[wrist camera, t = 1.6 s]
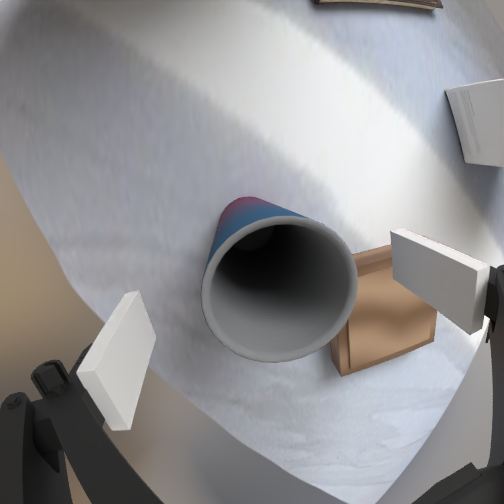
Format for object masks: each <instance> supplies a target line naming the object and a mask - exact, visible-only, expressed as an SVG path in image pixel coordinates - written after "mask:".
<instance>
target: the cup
mask: <svg viewBox="0 0 504 504" xmlns="http://www.w3.org/2000/svg"><path fill="white" fill-rule="evenodd" d="M357 290H358V276H357V268H356V265H355V262H354V258H353V255H352V254H351V252H350V250H349V249H348V247H347V245H346V243H345V242H344V241H343V240H342V239H341V238H340V237H339V236H338V235H337V234H336V233H335V232H334V231H332V230H331V229H330V228H328V227H327V226H325V225H324V224H322V223H319V222H317V221H314V220H312V219H309V218H307V217H304V216H302V215H299V214H297V213H294V212H292V211H289V210H287V209H284V208H282V207H279V206H277V205H274V204H272V203H269V202H266V201H264V200H261V199H258V198H255V197H242V198H239V199H236V200H234V201H233V202H231V203H230V204H229V205H228V206H227V207H226V208H225V210H224V211H223V213H222V215H221V218H220V221H219V225H218V228H217V231H216V235H215V238H214V241H213V245H212V248H211V252H210V255H209V258H208V262H207V265H206V269H205V272H204V276H203V279H202V287H201V304H202V311H203V314H204V317H205V320H206V323H207V324H208V326H209V328H210V329H211V331H212V333H213V334H214V336H215V337H216V338H217V339H218V340H219V341H220V342H221V343H222V344H223V345H224V346H225V347H227V348H228V349H230V350H231V351H232V352H234V353H236V354H238V355H240V356H242V357H245V358H247V359H251V360H255V361H259V362H271V363H277V362H286V361H291V360H295V359H299V358H302V357H305V356H307V355H309V354H311V353H313V352H315V351H317V350H318V349H320V348H321V347H323V346H324V345H326V344H327V343H328V342H329V341H331V340H332V339H333V338H334V337H335V336H336V335H337V334H338V333H339V331H340V330H341V329H342V327H343V326H344V325H345V324H346V322H347V320H348V318H349V316H350V314H351V312H352V310H353V307H354V304H355V301H356V298H357Z"/></svg>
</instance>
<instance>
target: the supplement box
mask: <svg viewBox="0 0 504 504" xmlns="http://www.w3.org/2000/svg"><path fill="white" fill-rule="evenodd" d="M445 91H446V94H447V97H448V100H449V103H450V106H451V109H452V113H453V116H454V120H455V123H456V127H457V131H458V135H459V138H460V142H461V146H462V151H463V155H464V160H465V163H471V164H480V165H489V166H497V167H504V79H498V80H491V81H485V82H479V83H473V84H468V85H463V86H458V87H453V88H448V89H446V90H445Z"/></svg>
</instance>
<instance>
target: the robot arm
mask: <svg viewBox="0 0 504 504" xmlns="http://www.w3.org/2000/svg"><path fill="white" fill-rule="evenodd" d="M390 234H391V247H392V265H393V279H394V280H395V281H397V282H398V283H400V284H401V285H402V286H404V287H405V288H407V289H408V290H410V291H411V292H412V293H414V294H415V295H417V296H418V297H419V298H421V299H422V300H423V301H425V302H426V303H428V304H429V305H430V306H432V307H433V308H434V309H436V310H437V311H438V312H440V313H441V314H443V315H444V316H445V317H447V318H448V319H449V320H451V321H452V322H453V323H455V324H456V325H457V326H458V327H460V328H461V329H462V330H464V331H465V332H466V333H468V334H469V335H471V334H473V333H475V332H477V331H478V330H480V329H482V326H483V320H484V315H485V316H487V317H488V318H490V322H489V327H488V333H487V338H486V343H488V340H489V339H490V346H491V358H492V376H493V420H492V437H491V438H492V439H491V449H490V458H489V462H488V465H487V467H485V468H481V469H476V468H475V466H474V465H473V464H472V463H469V464H467V465H466V466H464V467H463V468H461V469H460V470H458V471H456V472H455V473H453V474H451V475H450V476H448V477H446V478H445V479H443V480H441V481H439V482H438V483H436V484H435V485H434V486H432V487H431V488H430V489H429V490H428V491H427V492H425V493H424V494H423V495H422V496H421V497H419V498H418V499H417V500H416V501H414V502H413V503H412V504H504V265H501V266H499V267H498V268H497V269H496V268H494V267H492V266H490V265H488V264H486V263H483V262H481V261H479V260H477V259H475V258H472V257H470V256H468V255H466V254H463V253H461V252H459V251H457V250H454V249H452V248H450V247H447V246H445V245H442V244H440V243H438V242H435V241H433V240H430V239H428V238H426V237H423V236H421V235H418V234H416V233H413V232H411V231H408V230H405V229H403V228H400V229H396V230H392V231H390ZM156 338H157V337H156V335H155V332H154V330H153V327H152V325H151V322H150V319H149V317H148V314H147V311H146V309H145V306H144V303H143V300H142V297H141V295H140V292H139V290H138V291H133V292H129V293H125V295H124V296H123V298H122V299H121V301H120V302H119V304H118V305H117V307H116V308H115V310H114V311H113V313H112V314H111V316H110V318H109V319H108V321H107V322H106V324H105V325H104V327H103V329H102V330H101V332H100V333H99V335H98V337H97V338H96V340H95V342H94V343H91V344H90V345H89V346H88V347H87V348H86V349H84V350H83V352H82V353H81V355H80V357H79V359H78V360H77V362H76V365H74V366H73V368H72V370H71V371H70V373H69V375H68V373H67V371H66V369H65V367H64V366H63V364H62V362H61V361H59V360H51V361H48V362H45V363H43V364H41V365H40V366H38V367H37V368H36V369H35V370H34V371H33V373H32V374H31V379H32V381H33V383H34V384H35V386H36V388H37V389H38V391H39V392H40V394H41V395H42V397H43V399H40V400H37V401H33V402H31V401H30V400H29V398H28V397H27V395H26V394H25V393H23V392H18V393H14V394H11V395H9V397H7V398H6V399H5V401H4V402H3V403H2V405H1V408H0V504H73V503H72V498H71V493H70V488H69V482H68V476H67V470H66V463H65V455H64V452H65V454H66V456H67V458H68V460H69V462H70V464H71V466H72V468H73V470H74V472H75V474H76V476H77V478H78V480H79V482H80V484H81V485H82V487H83V489H84V491H85V493H86V494H87V496H88V498H89V500H90V501H91V503H92V504H164V503H163V502H162V501H161V500H160V499H159V498H158V497H157V496H156V494H155V493H154V492H153V491H152V490H151V489H150V488H149V487H148V486H147V484H146V483H145V482H144V481H143V480H142V479H141V478H140V476H139V475H138V474H137V473H136V472H135V470H133V468H132V467H131V465H130V464H129V463H128V462H127V461H126V459H125V458H124V457H123V455H122V454H121V453H120V452H119V450H118V449H117V448H116V446H115V445H114V444H113V442H112V441H111V440H110V438H109V437H108V435H107V434H106V432H105V431H104V430H103V428H102V426H103V423H104V421H106V422H107V424H108V425H109V427H110V428H111V429H112V431H114V430H130V429H131V425H132V421H133V417H134V414H135V410H136V406H137V402H138V399H139V395H140V392H141V388H142V384H143V381H144V378H145V374H146V371H147V367H148V364H149V361H150V357H151V354H152V351H153V347H154V344H155V341H156Z"/></svg>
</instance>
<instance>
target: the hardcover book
mask: <svg viewBox="0 0 504 504" xmlns="http://www.w3.org/2000/svg"><path fill="white" fill-rule="evenodd" d="M314 1H315V3H316V4H317V5H318V3H319V2H364V3H381V4H393V5H402V6H411V7H418V8H425V9H431V10H433V9H435V8H442V9H443V5H442V3H441V1H440V0H314Z"/></svg>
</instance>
